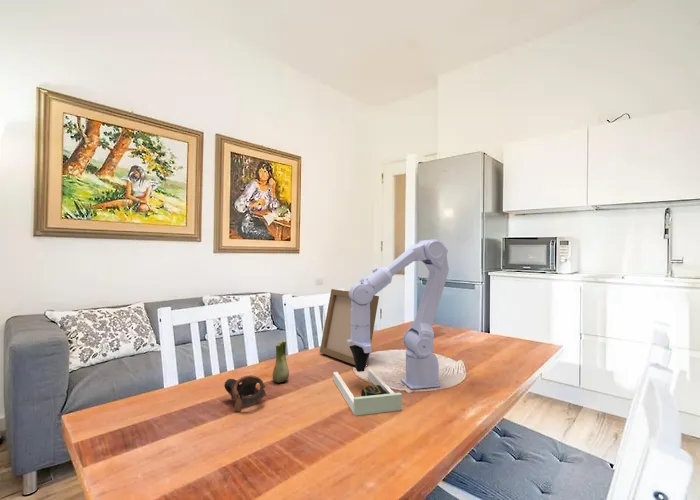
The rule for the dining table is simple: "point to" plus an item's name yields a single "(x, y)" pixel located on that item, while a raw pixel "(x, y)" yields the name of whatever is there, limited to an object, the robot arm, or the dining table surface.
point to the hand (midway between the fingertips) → (360, 370)
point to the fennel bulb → (280, 364)
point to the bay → (370, 397)
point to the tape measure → (373, 390)
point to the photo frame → (342, 326)
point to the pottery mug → (245, 391)
